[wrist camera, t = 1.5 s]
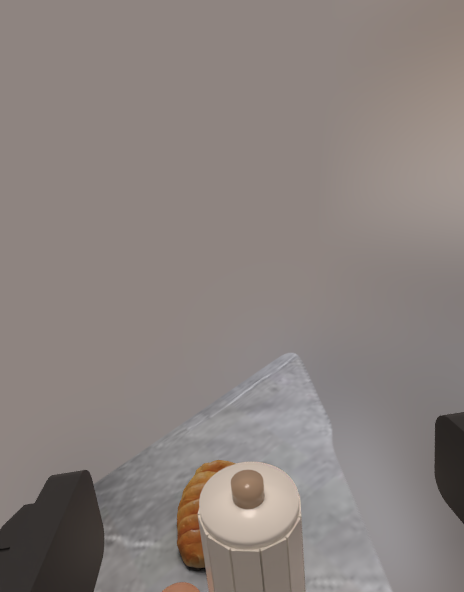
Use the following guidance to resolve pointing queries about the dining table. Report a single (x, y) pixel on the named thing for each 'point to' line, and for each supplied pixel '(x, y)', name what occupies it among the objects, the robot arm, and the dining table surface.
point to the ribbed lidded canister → (252, 530)
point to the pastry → (194, 514)
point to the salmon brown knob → (181, 588)
